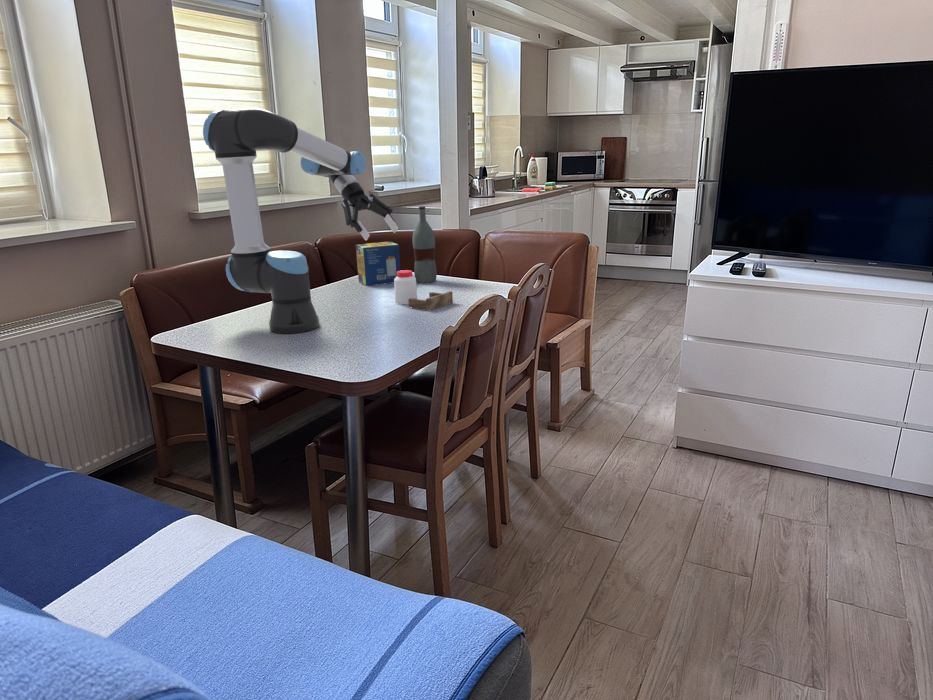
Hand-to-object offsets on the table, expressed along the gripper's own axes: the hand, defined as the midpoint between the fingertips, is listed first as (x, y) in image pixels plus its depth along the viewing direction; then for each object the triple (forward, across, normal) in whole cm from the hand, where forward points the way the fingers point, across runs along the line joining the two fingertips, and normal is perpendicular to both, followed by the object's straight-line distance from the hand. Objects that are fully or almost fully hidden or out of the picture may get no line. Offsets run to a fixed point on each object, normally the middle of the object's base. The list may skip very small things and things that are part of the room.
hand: (382, 234), depth 231 cm
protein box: (0, -19, -37) cm, 42 cm away
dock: (+30, 0, -2) cm, 30 cm away
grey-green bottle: (+12, -29, -25) cm, 40 cm away
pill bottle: (+24, +1, -9) cm, 25 cm away
